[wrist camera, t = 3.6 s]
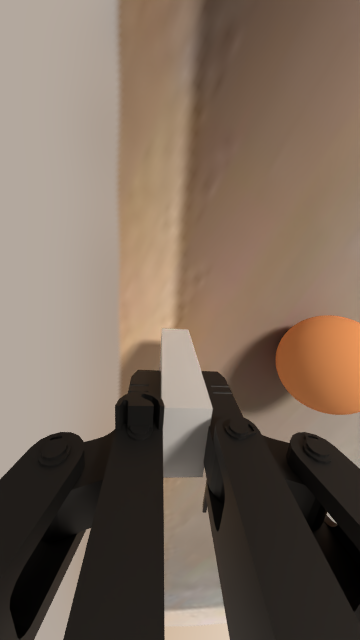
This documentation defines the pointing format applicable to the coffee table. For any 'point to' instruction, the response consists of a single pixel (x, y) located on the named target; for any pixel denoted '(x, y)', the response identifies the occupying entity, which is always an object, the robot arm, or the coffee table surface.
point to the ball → (322, 364)
